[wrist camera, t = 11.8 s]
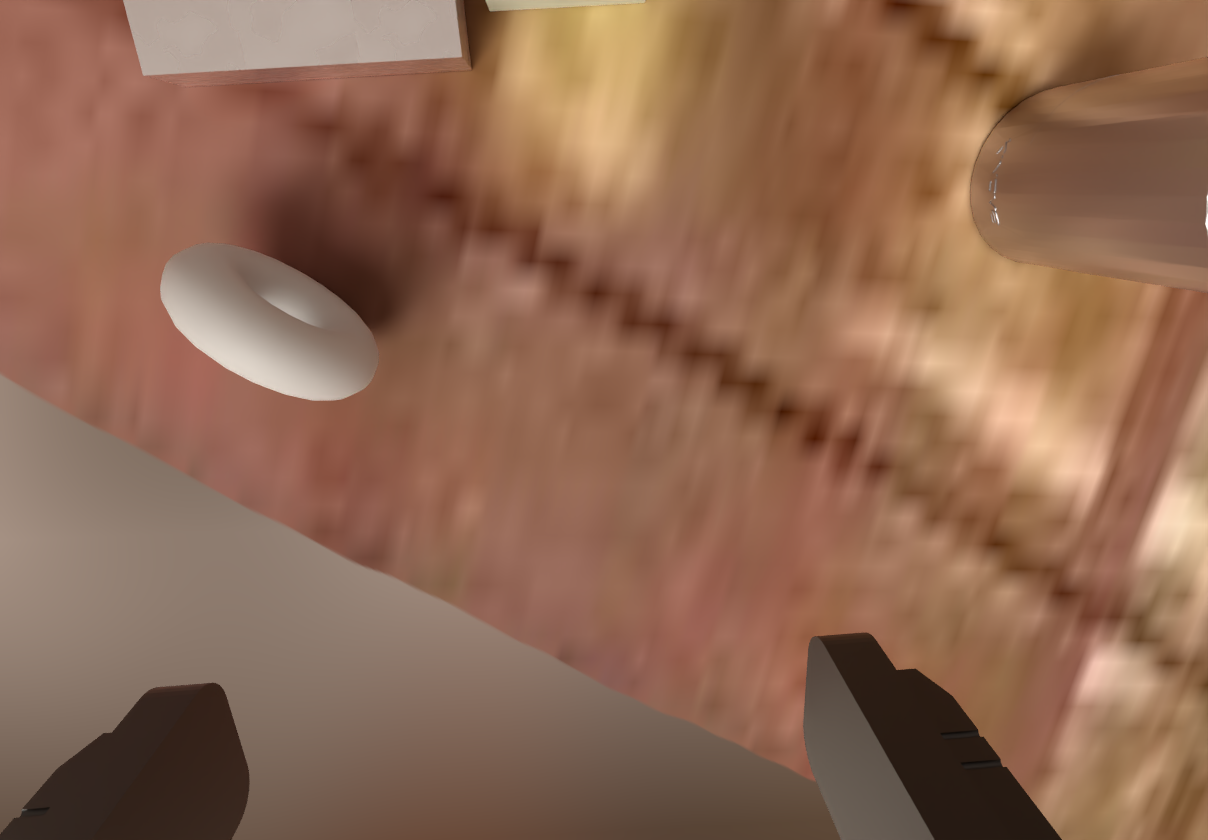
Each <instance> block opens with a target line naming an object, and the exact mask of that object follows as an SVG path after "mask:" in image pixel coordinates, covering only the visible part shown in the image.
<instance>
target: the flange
mask: <svg viewBox="0 0 1208 840" xmlns="http://www.w3.org/2000/svg"><path fill="white" fill-rule="evenodd" d="M123 2H124V5H125V9H126V13H127V16H128V20H129V24H130V28H131V31H132V35H133V39H134V43H135V46H136V50H137V54H138V58H139V61H140V65H141V69H142V73H143V76H147V77H150V78H154V79H158V80H161V81H165V82H169V83H173V84H176V85H180V86H184V87H196V86H213V85H230V84H247V83H264V82H281V81H298V80H315V79H332V78H349V77H366V76H383V75H400V74H417V73H434V72H451V71H468V70H472V68H471V59H470V51H469V42H468V33H467V25H466V16H465V7H464V0H123Z"/></svg>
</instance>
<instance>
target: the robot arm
mask: <svg viewBox="0 0 1208 840" xmlns="http://www.w3.org/2000/svg"><path fill="white" fill-rule="evenodd" d="M971 207H972V213H973V218H974V221H975V223H976V226H977V228H978V230H979V232H980V234H981V236H982V237H983V238H984V240H985V241H986V242H987V243H988V245H989V246H990V247H991V248H993V249H994V250H995V251H996V252H998V253H999V254H1000V255H1002V256H1004V257H1006V258H1009V259H1011V260H1014V261H1016V262H1022V263H1028V264H1034V265H1040V266H1046V267H1052V268H1058V269H1064V270H1069V271H1074V272H1080V273H1087V274H1093V275H1099V276H1105V277H1111V278H1118V279H1124V280H1130V281H1136V282H1142V283H1148V284H1155V285H1161V286H1167V287H1173V288H1179V289H1186V290H1192V291H1198V292H1204V293H1208V57H1205V58H1200V59H1195V60H1190V61H1185V62H1180V63H1175V64H1170V65H1165V66H1160V67H1155V68H1150V69H1145V70H1140V71H1135V72H1130V73H1125V74H1119V75H1114V76H1109V77H1104V78H1099V79H1094V80H1089V81H1084V82H1079V83H1074V84H1069V85H1065V86H1060V87H1056V88H1052V89H1049V90H1045V91H1042V92H1039V93H1037V94H1036V95H1034V96H1032V97H1030V98H1028V99H1026V100H1024V101H1023V102H1021V103H1020V104H1019V105H1017V106H1016V107H1015V108H1014V109H1012V110H1011V111H1010V112H1009V113H1007V114H1006V116H1005V117H1004V118H1003V119H1002V120H1001V121H1000V122H999V123H998V124H997V126H996V127H995V128H994V129H993V131H992V132H991V134H990V135H989V137H988V139H987V140H986V142H985V143H984V145H983V147H982V149H981V152H980V154H979V156H978V159H977V161H976V164H975V167H974V172H973V177H972V181H971ZM803 727H804V739H805V745H806V751H807V755H808V759H809V763H810V766H811V769H812V772H813V774H814V777H815V779H816V782H817V784H818V786H819V789H820V791H821V793H822V796H823V798H824V800H825V803H826V805H827V808H828V810H829V812H830V815H831V817H832V819H833V822H834V824H835V826H836V829H837V831H838V833H839V836H840V838H841V840H1062V839H1061V838H1060V837H1059V835H1058V834H1057V833H1056V831H1055V830H1054V829H1053V827H1052V826H1051V825H1050V823H1049V822H1048V821H1047V820H1046V818H1045V817H1044V816H1043V814H1042V813H1041V812H1040V810H1039V809H1038V808H1037V806H1036V805H1035V804H1034V802H1033V801H1032V800H1031V799H1030V797H1029V796H1028V795H1027V793H1026V792H1025V791H1024V789H1023V788H1022V787H1021V785H1020V784H1019V783H1018V781H1017V780H1016V779H1015V778H1014V776H1013V775H1012V774H1011V772H1010V771H1009V770H1008V768H1007V767H1003V766H1002V764H1001V761H1000V760H1001V759H1000V758H999V757H998V755H997V754H996V753H995V751H994V750H993V749H992V747H991V746H990V745H989V743H988V742H987V741H986V739H985V738H984V737H980V736H979V733H978V729H977V728H976V726H975V725H974V724H973V722H972V721H971V720H970V718H969V717H968V716H967V715H966V713H965V712H964V711H963V709H962V708H961V707H960V705H959V704H958V703H957V701H956V700H955V699H954V698H953V696H952V695H950V694H949V693H948V692H946V691H945V690H944V689H942V688H941V687H940V686H938V685H937V684H935V683H934V682H933V681H931V680H930V679H929V678H927V677H926V676H925V675H923V674H922V673H921V672H919V671H918V670H916V669H906V670H896V669H895V667H894V666H893V664H892V663H891V661H890V660H889V658H888V657H887V655H886V654H885V653H884V651H883V650H882V648H881V647H880V645H879V644H878V642H877V641H876V640H875V638H874V637H873V636H872V635H871V634H869V633H853V634H840V635H828V636H815V637H813V638H812V639H811V641H810V643H809V649H808V662H807V677H806V692H805V706H804V723H803ZM248 792H249V770H248V766H247V762H246V759H245V756H244V752H243V749H242V746H241V743H240V739H239V736H238V733H237V730H236V726H235V723H234V720H233V717H232V713H231V710H230V707H229V704H228V700H227V697H226V694H225V692H224V690H223V689H222V687H221V686H220V685H218V684H216V683H204V684H192V685H180V686H167V687H157V688H153V689H151V690H149V691H148V692H147V693H145V694H144V695H143V696H142V697H141V698H140V699H139V701H138V702H137V703H136V704H135V705H134V707H133V708H132V709H131V710H130V712H129V713H128V714H127V715H126V716H125V718H124V719H123V720H122V721H121V722H120V724H119V725H118V726H117V727H116V728H115V730H114V731H113V732H112V733H103V734H102V735H101V736H99V737H98V738H97V739H95V740H94V741H93V742H92V743H90V744H89V745H88V746H86V747H85V748H84V749H82V750H81V751H80V752H79V753H77V754H76V755H75V756H73V757H72V758H71V759H69V760H68V761H67V762H66V763H64V764H63V765H61V766H60V767H59V768H58V769H57V770H56V771H55V772H54V773H53V774H52V776H51V777H50V778H49V779H48V780H47V781H46V782H45V783H44V784H43V786H42V787H41V788H40V789H39V790H38V791H37V793H36V794H35V795H34V796H33V797H32V798H31V800H30V801H29V802H28V803H27V804H26V805H25V806H24V807H23V809H22V814H21V816H20V817H19V818H14V819H13V820H12V821H11V823H10V824H9V825H8V826H7V827H6V828H5V830H3V832H2V833H1V834H0V840H231V839H232V837H233V835H234V833H235V831H236V829H237V828H238V825H239V824H240V821H241V819H242V817H243V814H244V811H245V807H246V804H247V799H248Z"/></svg>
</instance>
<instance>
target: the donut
mask: <svg viewBox="0 0 1208 840" xmlns="http://www.w3.org/2000/svg"><path fill="white" fill-rule="evenodd" d="M160 292H161V300H162V302H163V303H164V305H165V307H166V309H167V311H168V313H169V315H170V317H171V318H172V320H173V322H174V324H175V326H176V327H177V328H178V329H179V330H180V331H181V332H182V333H183V334H184V335H185V336H186V337H187V338H188V339H189V340H190V341H191V342H192V343H193V344H194V345H195V346H196V347H197V348H198V349H200V350H201V351H203V352H204V353H205V354H207V355H208V356H210V357H211V358H212V359H214V360H215V361H217V362H218V363H219V364H221V365H222V366H224V367H225V368H227V369H229V370H231V371H233V372H234V373H236V374H238V375H240V376H242V377H244V378H246V379H248V380H249V381H251V382H253V383H256V384H259V385H261V386H264V387H267V388H269V389H272V390H274V391H277V392H280V393H282V394H285V395H290V396H295V397H299V398H304V399H308V400H339V399H344V398H346V397H348V396H350V395H353V394H355V393H357V392H359V391H361V390H363V389H364V388H365V387H366V386H367V385H368V384H369V383H370V382H371V381H372V379H373V376H374V374H375V372H376V369H377V366H378V362H379V351H378V348H377V345H376V342H375V339H374V337H373V334H372V332H371V331H370V329H369V328H368V327H367V326H366V324H365V323H364V322H363V321H362V319H361V318H360V317H359V315H358V314H357V313H356V312H355V311H354V310H353V309H352V308H350V307H349V306H348V305H347V304H346V303H345V302H344V301H343V300H342V299H340V298H339V297H338V296H336V295H335V294H334V293H332V292H331V291H330V290H328V289H327V288H326V287H324V286H323V285H321V284H320V283H318V282H316V281H315V280H313V279H312V278H310V277H308V276H307V275H305V274H304V273H302V272H300V271H298V270H296V269H294V268H292V267H290V266H288V265H286V264H285V263H283V262H281V261H279V260H276V259H274V258H271V257H269V256H266V255H264V254H262V253H259V252H257V251H253V250H250V249H246V248H242V247H239V246H235V245H230V244H222V243H202V244H196V245H194V246H191V247H189V248H187V249H185V250H183V251H181V252H179V253H177V254H175V255H173V256H172V258H171V259H170V260H169V261H168V262H167V263H166V265H165V268H164V271H163V274H162V280H161V286H160Z"/></svg>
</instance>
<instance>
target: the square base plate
mask: <svg viewBox="0 0 1208 840" xmlns="http://www.w3.org/2000/svg"><path fill="white" fill-rule="evenodd" d="M645 1H646V0H486V3H487V6H488V8H489V11H507V10H525V9H543V8H561V7H579V6H597V5H615V4H633V3H645Z"/></svg>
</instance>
